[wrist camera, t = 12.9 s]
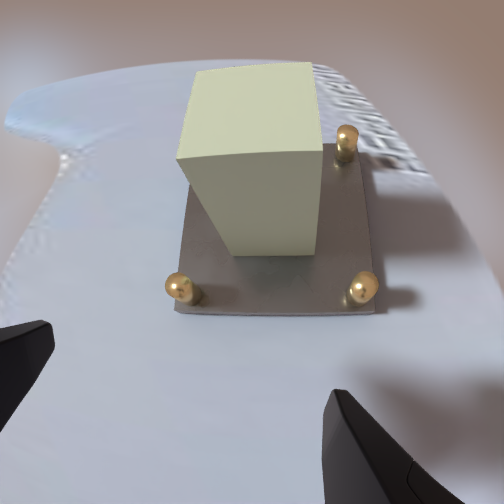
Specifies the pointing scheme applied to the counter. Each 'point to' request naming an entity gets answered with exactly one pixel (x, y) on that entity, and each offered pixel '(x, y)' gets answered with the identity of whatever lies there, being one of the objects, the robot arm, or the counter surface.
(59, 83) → the counter surface
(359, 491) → the robot arm
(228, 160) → the sage block
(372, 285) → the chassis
